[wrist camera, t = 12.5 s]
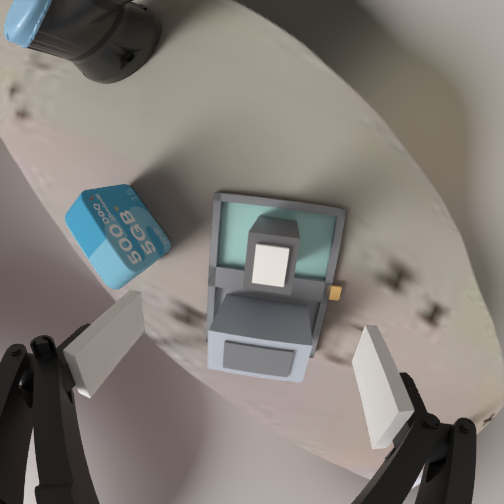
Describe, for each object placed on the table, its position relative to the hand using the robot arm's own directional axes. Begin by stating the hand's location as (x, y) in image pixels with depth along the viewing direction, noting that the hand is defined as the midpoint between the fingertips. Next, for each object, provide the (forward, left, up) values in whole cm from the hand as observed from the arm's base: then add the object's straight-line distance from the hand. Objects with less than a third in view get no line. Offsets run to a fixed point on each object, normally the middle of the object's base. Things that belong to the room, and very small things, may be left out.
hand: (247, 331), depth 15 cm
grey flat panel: (+6, +1, -23) cm, 24 cm away
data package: (0, -19, -23) cm, 30 cm away
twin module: (+12, +1, -23) cm, 26 cm away
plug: (0, +1, -23) cm, 23 cm away
